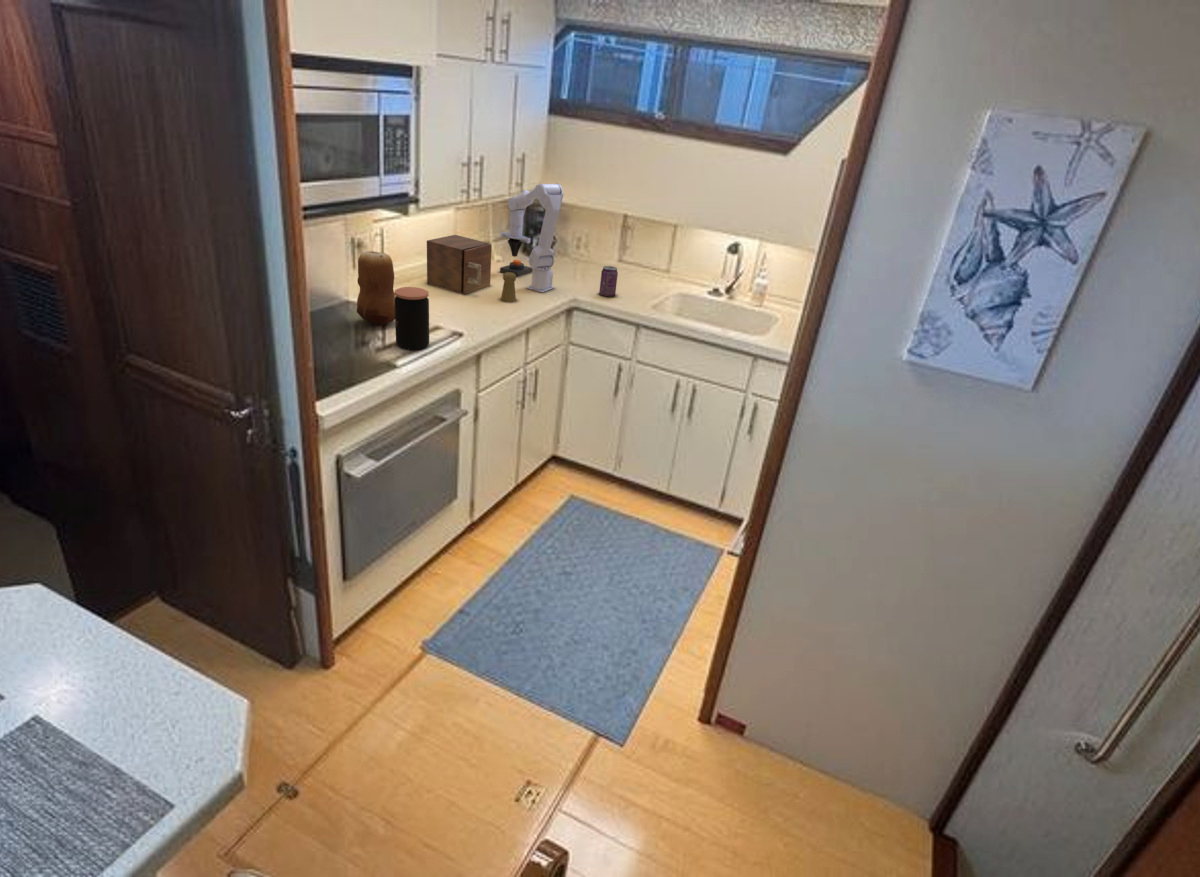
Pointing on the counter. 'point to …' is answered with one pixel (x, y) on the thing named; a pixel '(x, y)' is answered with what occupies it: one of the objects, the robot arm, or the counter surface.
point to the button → (516, 262)
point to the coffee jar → (412, 318)
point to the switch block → (516, 269)
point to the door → (477, 268)
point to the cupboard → (448, 261)
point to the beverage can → (608, 281)
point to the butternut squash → (376, 288)
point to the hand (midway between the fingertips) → (514, 256)
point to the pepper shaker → (509, 287)
